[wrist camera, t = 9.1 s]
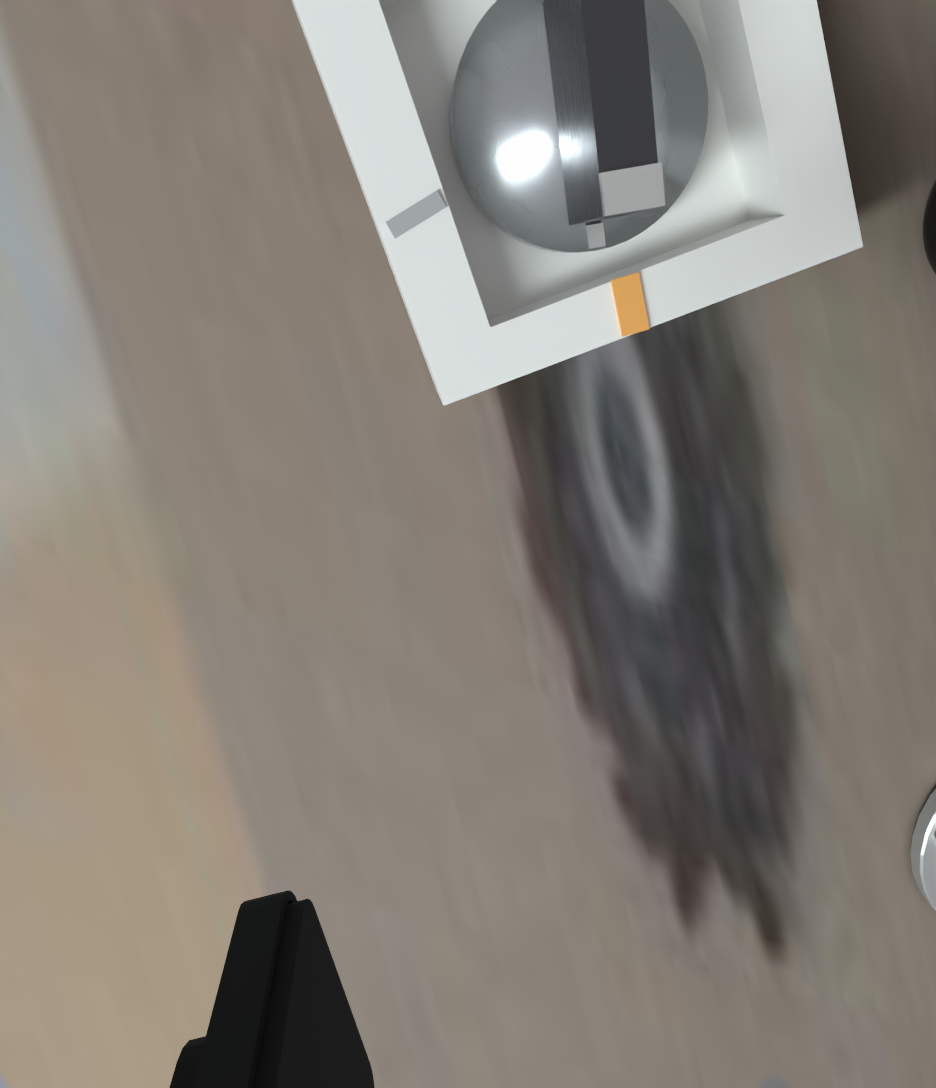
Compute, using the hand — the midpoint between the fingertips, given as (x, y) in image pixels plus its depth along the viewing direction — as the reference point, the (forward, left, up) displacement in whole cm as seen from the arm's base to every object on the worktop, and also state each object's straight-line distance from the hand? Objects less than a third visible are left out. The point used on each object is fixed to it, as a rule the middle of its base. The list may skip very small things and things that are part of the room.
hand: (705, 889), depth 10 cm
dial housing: (+10, -7, -27) cm, 30 cm away
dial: (+10, -7, -25) cm, 28 cm away
